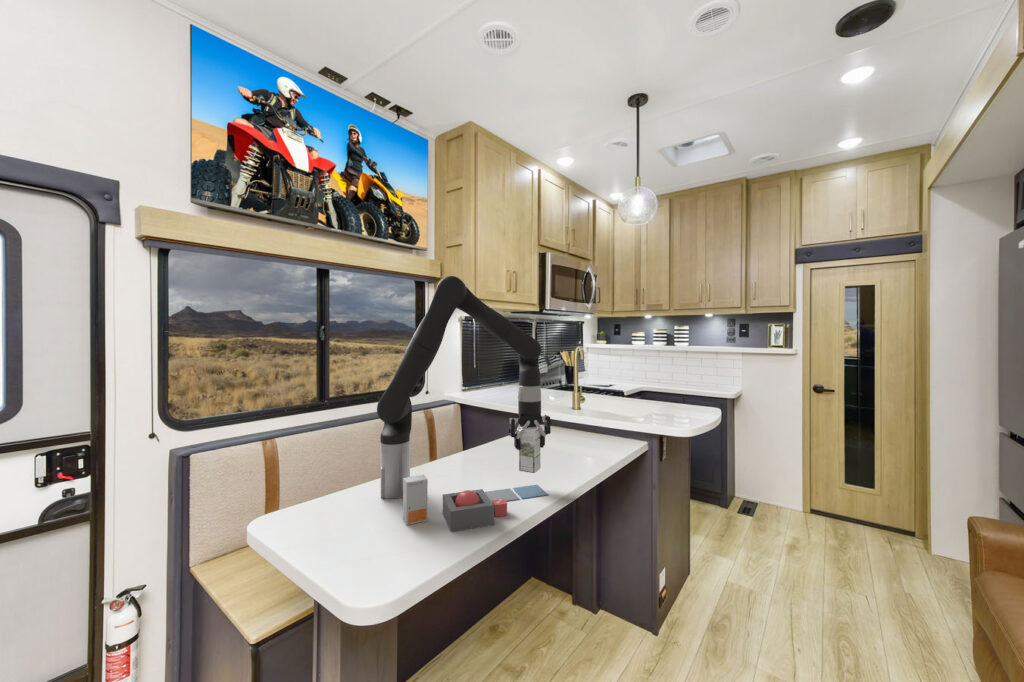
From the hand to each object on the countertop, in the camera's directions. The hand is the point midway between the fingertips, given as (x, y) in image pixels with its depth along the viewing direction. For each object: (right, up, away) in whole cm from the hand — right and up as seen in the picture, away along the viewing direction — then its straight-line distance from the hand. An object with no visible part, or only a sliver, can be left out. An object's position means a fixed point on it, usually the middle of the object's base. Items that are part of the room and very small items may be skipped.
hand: (529, 448), depth 134 cm
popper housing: (-16, -15, -18) cm, 28 cm away
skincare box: (-33, -15, -20) cm, 41 cm away
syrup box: (0, -7, 0) cm, 7 cm away
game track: (-9, -15, -3) cm, 18 cm away
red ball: (-19, -14, -19) cm, 30 cm away
